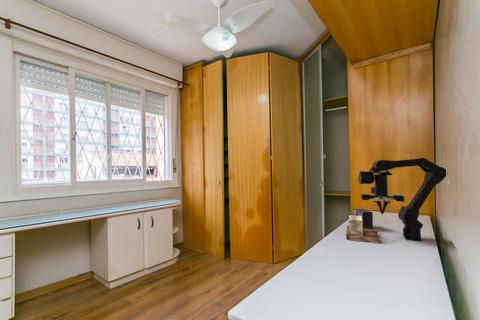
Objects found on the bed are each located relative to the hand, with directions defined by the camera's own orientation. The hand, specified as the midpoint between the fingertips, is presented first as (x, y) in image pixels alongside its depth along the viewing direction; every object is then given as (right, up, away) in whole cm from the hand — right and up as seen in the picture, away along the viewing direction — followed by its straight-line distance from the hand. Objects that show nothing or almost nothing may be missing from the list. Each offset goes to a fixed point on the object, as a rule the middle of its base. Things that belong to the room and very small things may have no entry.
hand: (382, 214), depth 118 cm
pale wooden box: (-12, -12, +3) cm, 18 cm away
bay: (-10, -12, +1) cm, 16 cm away
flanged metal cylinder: (-5, -12, +15) cm, 20 cm away
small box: (0, -13, +18) cm, 22 cm away
